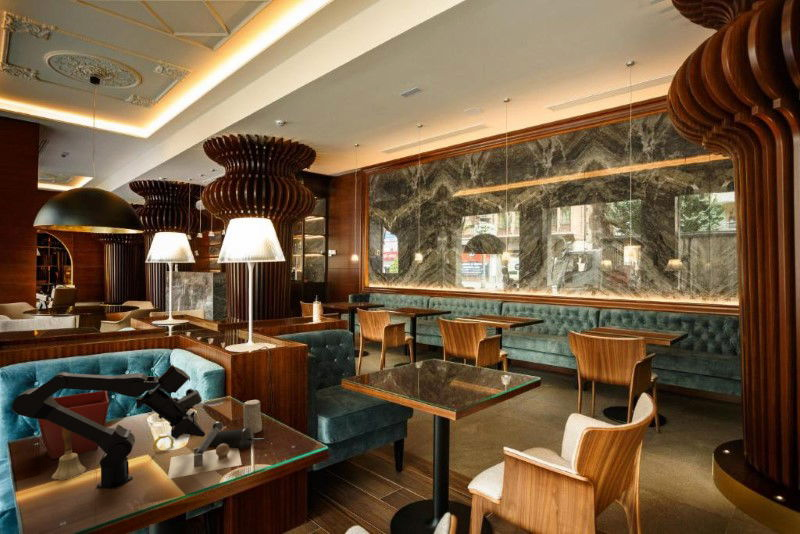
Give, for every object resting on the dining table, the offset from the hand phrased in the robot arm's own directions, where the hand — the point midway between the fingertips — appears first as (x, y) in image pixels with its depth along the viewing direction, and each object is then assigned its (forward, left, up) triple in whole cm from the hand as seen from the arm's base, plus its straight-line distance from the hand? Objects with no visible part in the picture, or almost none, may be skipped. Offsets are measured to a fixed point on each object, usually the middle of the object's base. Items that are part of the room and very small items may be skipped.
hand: (204, 435), depth 137 cm
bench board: (0, 0, -10) cm, 10 cm away
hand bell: (-11, +39, -10) cm, 41 cm away
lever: (-1, +1, -6) cm, 6 cm away
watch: (+7, +21, -10) cm, 24 cm away
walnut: (+3, -4, -8) cm, 10 cm away
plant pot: (+5, +53, -10) cm, 55 cm away
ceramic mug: (+26, +27, -10) cm, 39 cm away
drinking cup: (+14, +7, -7) cm, 17 cm away
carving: (+26, -1, -10) cm, 28 cm away
